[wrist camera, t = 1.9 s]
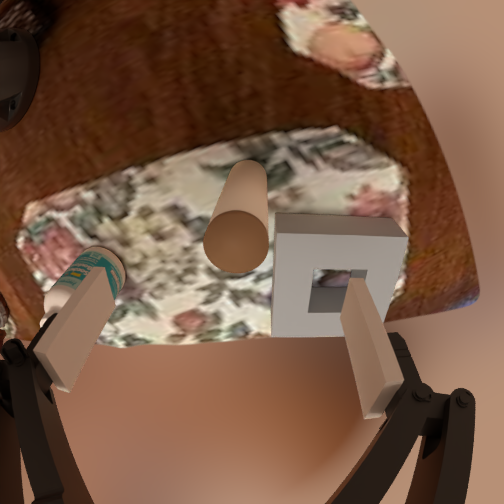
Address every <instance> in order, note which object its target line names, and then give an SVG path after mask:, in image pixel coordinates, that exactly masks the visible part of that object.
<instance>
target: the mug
mask: <svg viewBox="0 0 504 504" xmlns="http://www.w3.org/2000/svg"><path fill="white" fill-rule="evenodd" d="M7 317H8V308H7V307H6V303H5V301H4V298H3V297H2V295H1V294H0V328H1V327H4V326H5V323H6V322H7ZM5 336H6V332H5V330H1V329H0V350H1V347H2V345H3V339H4V338H5Z"/></svg>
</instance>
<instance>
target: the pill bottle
mask: <svg viewBox="0 0 504 504" xmlns="http://www.w3.org/2000/svg"><path fill="white" fill-rule="evenodd" d="M93 267H105V270H106V273H107V277H108V281H109V284H110V288H111V292H112V295H113V298H114V300H115V298H116V297H117V295H118V294H119V292H120V290H121V289H122V287H123V285H124V282H125V270H124V267H123V265H122V263H121V262H120V260H119V259H118V258H117V256H116V255H114V254H113V253H112V252H111V251H109V250H107V249H105V248H102V247H91V248H88V249H86V250H85V251H84V252H83V253H82V254H81V255H80V256H79V257H78V258H77V259H76V260H75V261H74V262H73V264H72V265H71V266H70V267H69V268H68V269H67V270H66V271H65V273H64V274H63V275H62V276H61V277H60V278H59V279H58V281H57V282H56V283H55V284H54V285H53V286H52V288H51V289H50V290H49V291H48V293H47V294H46V296H45V300H44V309H45V312H46V314H45V315H44V317H43V318H42V319H41V321H40V327H43V324H44V323H45V321H46V320H47V318H49V317H50V316H51V315H53V314H54V313H59V311H60V310H61V309H62V307H63V306H64V304H65V303H66V302H67V300H68V299H69V298H70V296H71V295H72V294H73V292H74V291H75V290H76V288H77V287H78V286H79V285H80V283H81V282H82V281H83V279H84V278H85V277H86V276H87V274H88V273H89V272H90V271H91V269H92V268H93Z"/></svg>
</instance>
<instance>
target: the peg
mask: <svg viewBox="0 0 504 504" xmlns="http://www.w3.org/2000/svg"><path fill="white" fill-rule="evenodd" d="M203 246H204V251H205V254H206V256H207V257H208V259H209V260H210V261H211V263H213V264H214V265H215V266H216V267H218V268H219V269H221V270H224V271H226V272H230V273H245V272H248V271H251V270H253V269H255V268H257V267H258V266H259V265H260V264H261V263H262V262H263V261H264V259H265V258H266V256H267V253H268V248H269V238H268V199H267V175H266V171H265V169H264V168H263V166H262V165H261V164H259V163H258V162H256V161H253V160H243V161H240V162H238V163H236V164H235V165H234V166H233V167H232V169H231V171H230V173H229V176H228V178H227V180H226V183H225V185H224V188H223V190H222V192H221V195H220V197H219V200H218V202H217V205H216V207H215V210H214V212H213V215H212V217H211V220H210V222H209V225H208V227H207V230H206V232H205V235H204V240H203Z"/></svg>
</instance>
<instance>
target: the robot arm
mask: <svg viewBox="0 0 504 504" xmlns="http://www.w3.org/2000/svg"><path fill="white" fill-rule="evenodd" d="M2 1H3V0H0V4H1V3H2ZM38 76H39V51H38V47H37V44H36V41H35V39H34V37H33V36H32V35H31V33H29V32H28V31H27V30H25V29H22V28H4V29H0V132H2V131H5V130H8V129H10V128H12V127H13V126H15V125H16V124H17V123H18V122H19V121H20V120H21V118H22V117H23V116H24V114H25V113H26V111H27V109H28V107H29V105H30V103H31V101H32V99H33V96H34V93H35V90H36V86H37V82H38ZM115 306H116V305H115V302H114V298H113V295H112V292H111V288H110V284H109V281H108V277H107V273H106V270H105V267H93V268H92V269H91V271H90V272H89V273H88V274H87V276H86V277H85V278H84V279H83V281H82V282H81V283H80V285H79V286H78V287H77V288H76V290H75V291H74V292H73V294H72V295H71V296H70V298H69V299H68V300H67V302H66V303H65V304H64V306H63V307H62V309H61V310H60V311H59V313H54V314H53V315H51V316H50V317H49V318H47V320H46V321H45V323H44V324H43V327H41V328H40V330H39V332H38V333H37V334H36V336H35V337H34V338H33V340H32V341H31V343H30V345H29V346H28V347H27V349H25V347H24V345H23V344H22V342H21V341H20V340H19V339H16V338H14V339H10V340H8V341H6V342H5V343H4V345H3V346H2V347H1V350H0V353H1V355H2V356H3V358H4V359H5V360H0V504H24V497H23V488H22V477H21V458H20V448H21V452H22V456H23V460H24V464H25V468H26V471H27V474H28V478H29V481H30V484H31V487H32V491H33V493H34V497H35V500H34V501H33V502H32V503H31V504H94V502H93V500H92V498H91V496H90V494H89V492H88V490H87V487H86V485H85V483H84V481H83V479H82V476H81V474H80V472H79V469H78V467H77V465H76V462H75V459H74V457H73V454H72V451H71V449H70V446H69V443H68V440H67V438H66V435H65V432H64V429H63V425H62V422H61V419H60V416H59V412H58V409H57V405H56V402H55V398H54V394H53V391H52V389H51V387H50V386H51V384H52V382H53V383H54V384H55V386H56V387H57V388H58V389H59V390H62V391H65V392H69V393H70V392H71V390H72V387H73V386H74V383H75V381H76V379H77V377H78V375H79V373H80V371H81V369H82V367H83V365H84V363H85V361H86V359H87V357H88V356H89V354H90V352H91V350H92V348H93V346H94V344H95V342H96V341H97V339H98V337H99V335H100V333H101V331H102V330H103V328H104V326H105V324H106V322H107V321H108V319H109V317H110V315H111V313H112V312H113V310H114V308H115ZM340 320H341V324H342V328H343V332H344V336H345V339H346V343H347V347H348V351H349V355H350V359H351V363H352V367H353V371H354V376H355V380H356V384H357V388H358V393H359V398H360V402H361V407H362V412H363V416H364V419H370V418H378V417H381V415H382V414H383V413H384V411H385V412H386V416H387V419H386V420H385V421H384V423H383V424H382V425H381V427H380V428H379V429H380V430H379V431H378V433H377V434H376V436H375V437H374V439H373V440H372V442H371V443H370V445H369V446H368V448H367V449H366V451H365V452H364V454H363V455H362V457H361V458H360V459H359V461H358V462H357V464H356V465H355V466H354V468H353V469H352V471H351V472H350V473H349V474H348V476H347V477H346V479H345V480H344V481H343V482H342V484H341V485H340V486H339V487H338V489H337V490H336V491H335V492H334V494H333V495H332V496H331V497H330V498H329V500H328V501H327V502H326V503H325V504H379V503H380V501H381V500H382V498H383V497H384V495H385V494H386V492H387V491H388V489H389V488H390V486H391V484H392V483H393V481H394V479H395V478H396V476H397V474H398V473H399V471H400V469H401V467H402V466H403V464H404V462H405V460H406V458H407V457H408V455H409V453H410V451H411V449H412V447H413V445H414V443H415V441H416V439H417V437H418V435H420V436H422V441H421V446H420V450H419V455H418V459H417V463H416V467H415V471H414V475H413V479H412V482H411V486H410V489H409V492H408V496H407V499H406V502H405V504H465V499H466V494H467V489H468V483H469V477H470V470H471V462H472V453H473V442H474V428H475V398H474V396H473V395H472V393H471V392H470V391H468V390H467V389H464V388H458V389H455V390H454V391H453V392H452V393H451V395H448V394H440V393H435V392H433V390H432V389H431V387H429V386H428V385H427V384H425V383H422V381H421V379H420V376H419V374H418V371H417V369H416V366H415V364H414V361H413V359H412V357H411V354H410V352H409V350H408V347H407V345H406V342H405V340H404V339H403V338H402V337H401V336H400V335H399V334H398V333H397V332H394V333H386V330H385V328H384V325H383V323H382V320H381V318H380V315H379V313H378V311H377V308H376V306H375V303H374V301H373V299H372V296H371V294H370V292H369V290H368V287H367V285H366V283H365V281H364V278H349V283H348V287H347V291H346V295H345V299H344V303H343V307H342V311H341V315H340Z"/></svg>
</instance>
